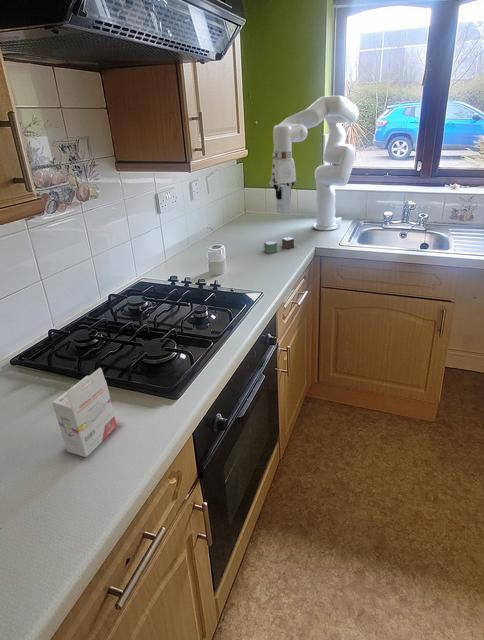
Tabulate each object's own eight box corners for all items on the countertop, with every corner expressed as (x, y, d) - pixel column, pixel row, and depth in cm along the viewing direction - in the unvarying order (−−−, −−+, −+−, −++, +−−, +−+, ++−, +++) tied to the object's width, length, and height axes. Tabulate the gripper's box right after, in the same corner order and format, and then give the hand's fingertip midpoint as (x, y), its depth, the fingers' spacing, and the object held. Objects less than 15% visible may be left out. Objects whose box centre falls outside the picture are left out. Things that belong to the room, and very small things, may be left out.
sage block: (271, 249, 182) (271, 240, 180) (276, 251, 179) (276, 243, 177) (264, 251, 180) (264, 242, 178) (269, 253, 177) (269, 244, 175)
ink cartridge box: (98, 421, 84) (83, 361, 78) (117, 427, 82) (104, 366, 77) (65, 451, 77) (46, 388, 71) (85, 459, 75) (67, 394, 69)
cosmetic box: (291, 213, 181) (291, 186, 177) (282, 215, 179) (283, 187, 175) (284, 211, 186) (284, 184, 182) (275, 212, 184) (275, 185, 180)
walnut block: (289, 245, 186) (289, 236, 185) (294, 247, 183) (294, 238, 182) (282, 246, 184) (281, 238, 183) (287, 249, 181) (286, 240, 180)
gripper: (271, 158, 166) (272, 202, 173) (303, 154, 174) (303, 197, 181) (261, 156, 172) (262, 199, 179) (293, 153, 180) (293, 194, 187)
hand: (283, 197), depth 180 cm, fingers closed on cosmetic box, 4 cm apart
